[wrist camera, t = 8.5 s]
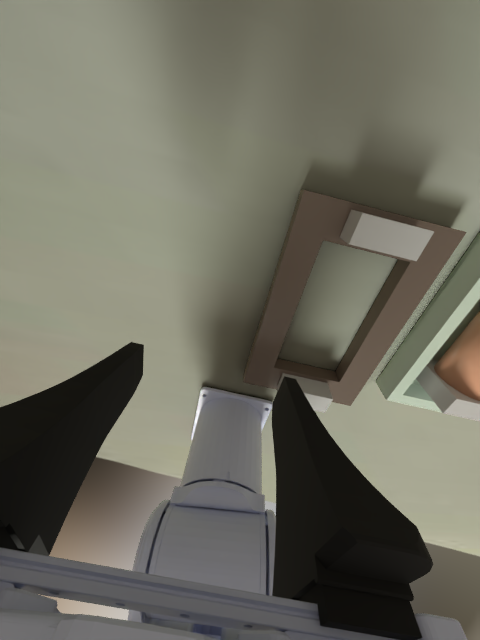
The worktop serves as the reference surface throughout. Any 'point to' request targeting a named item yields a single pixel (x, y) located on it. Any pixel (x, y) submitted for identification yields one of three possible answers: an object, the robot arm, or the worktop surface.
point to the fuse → (457, 375)
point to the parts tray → (434, 332)
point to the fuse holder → (386, 312)
